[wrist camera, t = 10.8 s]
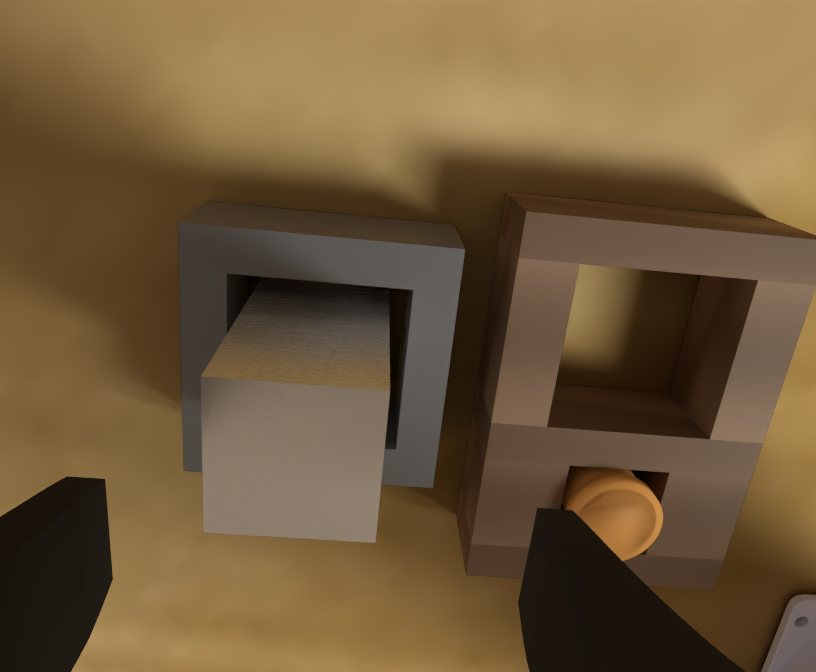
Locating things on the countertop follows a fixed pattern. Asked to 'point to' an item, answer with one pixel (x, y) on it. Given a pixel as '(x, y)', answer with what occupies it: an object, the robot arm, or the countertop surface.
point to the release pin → (614, 507)
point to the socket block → (628, 409)
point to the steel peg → (298, 413)
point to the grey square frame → (335, 263)
